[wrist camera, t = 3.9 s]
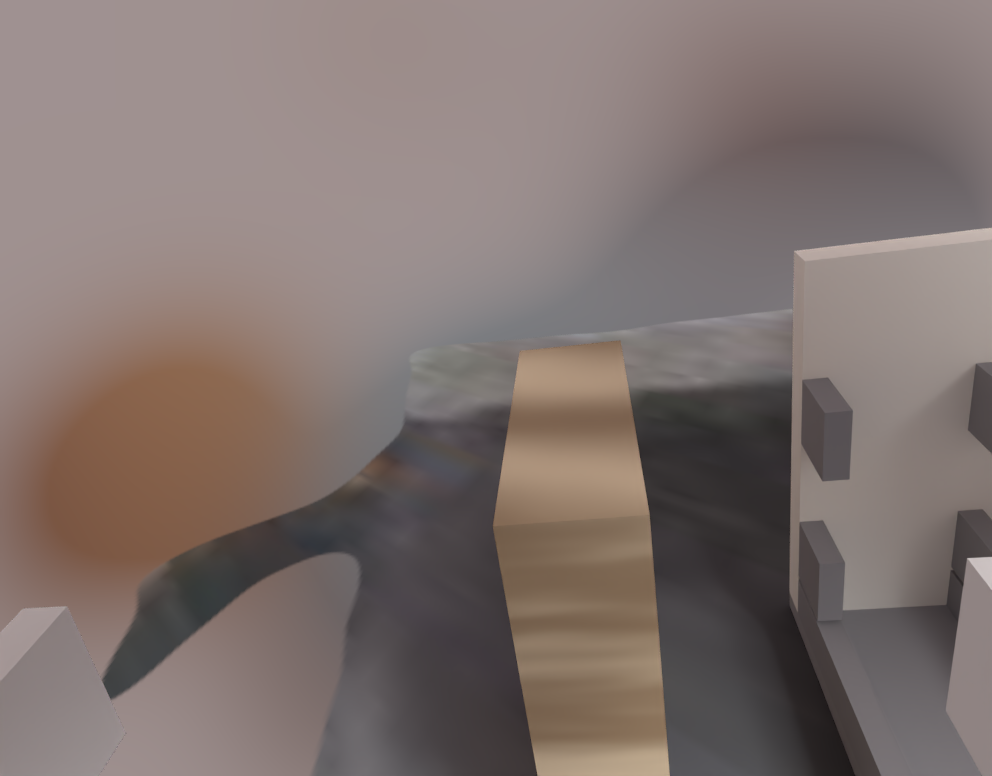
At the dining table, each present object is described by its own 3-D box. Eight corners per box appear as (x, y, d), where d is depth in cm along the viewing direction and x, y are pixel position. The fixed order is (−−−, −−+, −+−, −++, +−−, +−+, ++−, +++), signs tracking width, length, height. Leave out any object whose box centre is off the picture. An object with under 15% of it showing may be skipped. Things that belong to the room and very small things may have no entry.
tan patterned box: (679, 910, 25) (649, 515, 19) (561, 910, 26) (492, 526, 20) (646, 649, 36) (620, 340, 30) (563, 653, 37) (519, 351, 30)
